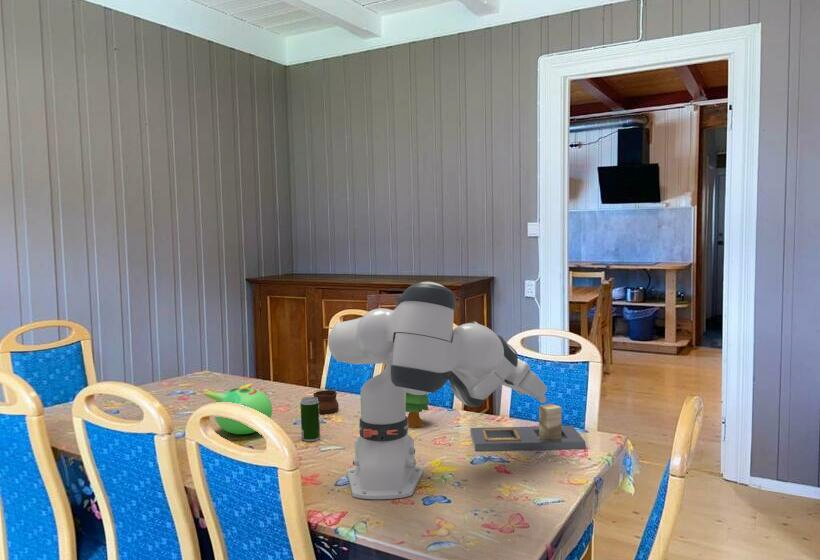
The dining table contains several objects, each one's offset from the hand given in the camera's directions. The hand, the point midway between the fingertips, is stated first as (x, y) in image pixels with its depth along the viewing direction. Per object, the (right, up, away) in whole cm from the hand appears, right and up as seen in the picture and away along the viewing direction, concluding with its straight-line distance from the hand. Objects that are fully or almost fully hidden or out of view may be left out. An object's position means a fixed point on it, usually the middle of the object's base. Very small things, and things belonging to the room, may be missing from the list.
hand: (533, 396), depth 172 cm
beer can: (-63, -15, +12) cm, 66 cm away
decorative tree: (-32, -13, +24) cm, 42 cm away
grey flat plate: (-1, -14, +6) cm, 15 cm away
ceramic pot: (-63, -13, +41) cm, 76 cm away
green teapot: (-85, -15, +19) cm, 88 cm away
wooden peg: (+6, -14, +6) cm, 16 cm away
